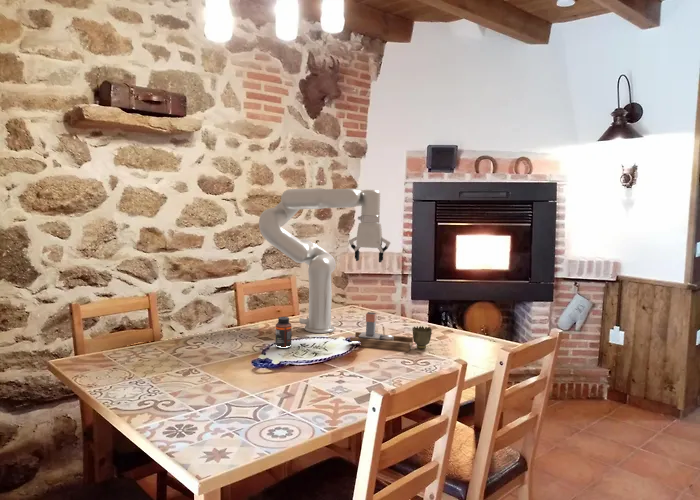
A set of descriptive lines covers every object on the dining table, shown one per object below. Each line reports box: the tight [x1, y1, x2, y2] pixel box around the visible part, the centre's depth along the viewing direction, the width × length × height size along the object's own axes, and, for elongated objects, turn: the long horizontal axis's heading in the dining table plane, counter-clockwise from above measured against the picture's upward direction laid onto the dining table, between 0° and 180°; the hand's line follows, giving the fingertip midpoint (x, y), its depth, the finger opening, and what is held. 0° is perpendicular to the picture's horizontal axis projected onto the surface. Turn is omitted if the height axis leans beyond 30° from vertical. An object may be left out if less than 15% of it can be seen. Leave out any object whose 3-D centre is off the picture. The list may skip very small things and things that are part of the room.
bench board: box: [349, 331, 414, 352], centre depth 218 cm, size 23×10×3 cm, turn 75°
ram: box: [359, 311, 395, 341], centre depth 218 cm, size 13×6×10 cm, turn 75°
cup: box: [411, 325, 433, 350], centre depth 214 cm, size 8×7×8 cm
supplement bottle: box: [275, 316, 293, 347], centre depth 210 cm, size 6×6×11 cm
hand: (368, 261), depth 231 cm, fingers open, 9 cm apart
